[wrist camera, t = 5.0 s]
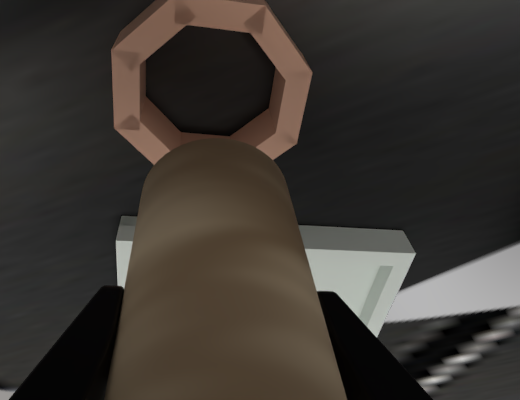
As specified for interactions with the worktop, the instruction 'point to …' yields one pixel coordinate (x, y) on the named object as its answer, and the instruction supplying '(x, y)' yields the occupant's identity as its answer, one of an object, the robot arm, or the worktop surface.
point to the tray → (333, 265)
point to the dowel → (220, 287)
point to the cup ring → (219, 17)
